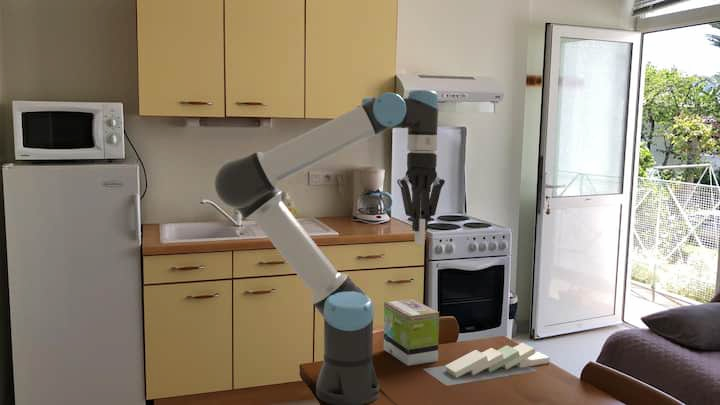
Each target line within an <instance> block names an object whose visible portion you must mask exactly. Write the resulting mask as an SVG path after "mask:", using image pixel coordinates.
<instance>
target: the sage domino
mask: <svg viewBox="0 0 720 405" xmlns="http://www.w3.org/2000/svg"><path fill="white" fill-rule="evenodd" d="M497 351H499V352H501V353H502V354H503V357H504V359H503V360H501V361H499V362H497V363H495V364H493V365H492V366H490V367H488V368H486V369H485V370H487V371H488V372H492V371H494V370H496V369H497V368H499V367H501V366H503V365H505V364H507V363H508V362H510V361H512V360H514V359H516V358H518V357H519V356H520V354H519V351H518V350H516V349H514V348H513V347H512V346H509V345H508V344H506V345H504V346H502V347H501V348H499V349H497Z"/></svg>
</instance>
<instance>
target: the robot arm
mask: <svg viewBox="0 0 720 405" xmlns="http://www.w3.org/2000/svg"><path fill="white" fill-rule="evenodd" d="M438 123H439V95H438V93H437V91H434V90H430V89H427V90H426V89H423V90H422V89H420V90H411V91H409V93H408V95H407V97H405V98H403V97H402V96H401V95H400V94H397V93H396V92H395V93H394V92H384V93H382V94H380V95H378V96H377V97H375V96H373V97H364V98H363V99H362V101H361V105H359V106H357V107H355V108H353V109H351V110H349V111H347V112H345V113H343V114H341V115H338V116H336V117H335V118H333V119H331V120H329V121H327V122H324V123H323V124H321V125H319V126H316V127H315V128H312V129H310V130H309V131H306V132H305V133H302V134H301V135H299V136H297V137H294V138H292V139H290V140H288V141H287V142H284V143H282V144H279V145H278V146H276V147H274V148H272V149H270V150H268V151H266V152H261V151H256V152H254V153H252V154H249V155H247V156H244V157H242V158H237V159H233V160H230V161H228V162H227V163H225V164H223V165H222V166H221V167H220V168H219V170H218V172H216V176H215V179H214V187H215V192H216V195H217V197H218V198H219V200H220V201H222V202H223V203H224V204H225V205H227V206H228V207H231V208H236V210H237V211H238V212H239V213H240V215H241V216H242V217H243V218H244V219H245V221H246V220H247V221H252V222H254V223H255V224H256V225H257V226H258V227H259V229H260V230H261V231H262V232H263V233H264V235H265V236H266V237H267V239H268V240H269V241H270V242H271V243H272V245H273V247H274V248H275V249H276V250H277V251H278V252H279V253H280V255H281V257H282V258H283V259H284V260H285V261H286V263H287V264H288V265H289V266H290V267H291V269H292V270H293V271H294V273H295V274H296V275H297V276H298V278H299V279H300V280H301V282H302V283H303V284H304V286H306V287H307V289H308V290H309V291H310V293H311V303H312V305H313V306H314V307H315V309H316V310H317V311H318V312H319V313H320V315H321V316H322V317H323V318H324V319H323V321H324V322H323V324H324V325H323V363H322V366H321V368H320V371H319V374H318V377H317V380H316V385H315V394H316V397H317V398H318V399H319V400H320V401H322V402H324V403H326V404H330V405H366V404H370V403H372V402H374V401H375V400H377V398H378V397H379V394H380V383H379V379H378V377H377V374H376V370H375V367H374V364H373V347H374V346H373V342H374V340H373V335H374V334H373V333H374V332H373V331H374V316H375V311H374V310H375V309H374V302H373V301H372V299H371V298H370V297H369V296H367V295H366V293H365V292H364V290H363V289H361V288H360V287H358V286H357V285H356V284H355V283H354V281H353V280H352V279H351V278H350V276H349V275H348V274H347V273H342V272H338V271H337V269H336V268H335V267H334V266H333V264H332V263H331V262H330V260H329V259H328V258H327V256H326V255H325V253H323V251H322V250H321V249H320V247H318V245H317V244H316V243H315V241H314V240H313V239H312V237H311V235H309V234H308V232H307V231H306V230H305V229H304V227H303V226H302V225H301V223H300V222H299V221H298V219H296V217H295V216H294V214H293V213H292V212H291V211H290V210H289V208H288V207H287V206H286V204H285V203H284V202H283V201H282V197H283V196H282V194H283V191H282V190H281V188H280V186H279V184H280V183H281V182H283V181H285V180H287V179H289V178H291V177H293V176H295V175H297V174H299V173H302V172H304V171H305V170H307V169H309V168H311V167H313V166H316V165H317V164H320V163H322V162H324V161H325V160H327V159H329V158H331V157H333V156H335V155H337V154H340V153H342V152H343V151H345V150H347V149H349V148H351V147H353V146H355V145H357V144H359V143H362V142H363V141H366V140H367V139H369V138H372V137H374V136H375V135H378V134H380V133H382V132H384V131H386V130H388V129H407V147H406V148H407V151H409V152H408V153H407V154H406V155H407V156H406V167H407V170H406V172H405V176H403V177H402V178H401V179H400V178H398V179H397V181H396V182H397V183H396V184H397V185H398V187H399V188H400V192H401V197H402V202H403V208H404V212H405V216H406V217H410V218H411V219H412V222H411V226H412V227H411V228H412V231H414V244H417V245H419V246H420V245H421V246H422V245H425V243H426V242H425V240H426V232H428V228H429V227H428V226H429V219H431V217H434V216H435V215H436V212H437V207H438V204H439V199H440V196H441V190H442V188H443V187H444V185H445V183H446V181H445V179H444V178H443V179H442V178H440V177H439V176H438V172H437V170H436V168H437V160H438V159H437V157H438V155H437V154H436V153H437V151H438V149H437V148H438ZM435 152H436V153H435ZM409 184H410V186H409ZM410 187H411V190H410ZM411 192H412V193H411Z"/></svg>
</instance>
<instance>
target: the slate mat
mask: <svg viewBox="0 0 720 405" xmlns="http://www.w3.org/2000/svg"><path fill="white" fill-rule="evenodd" d="M422 370H423V371H424V372H426V373H428V374H429V375H431V377H433V378H434V379H436V380H437V381H438V382H440V383H442V384H443V385H445V386H446V387H449V386H455V385H461V384H467V383H474V382H481V381H485V380H486V381H487V380H491V379H498V378H503V377H509V376H515V375H522V374H529V373H534V372H537V371H538V370H537V369H535V368H533V367H532V366H527V367H521V368H520V367H518V366H516V365H514V366H512V367H510V368H508V369H507V370H506V369H505V368H503V367H499V368H497V369H496V370H494V371H492V372H488V371H487V370H485V369H484V370H482V371H480V372H478V373H477V374H475V375H472V374H471V373H469V372H467V373H465V374H463V375H461V376H459V377H457V378H456V377H455V376H453V375H452V374H450V373H449V372H447V371H446V368H445V365H441V366H432V367H428V368H422Z"/></svg>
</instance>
